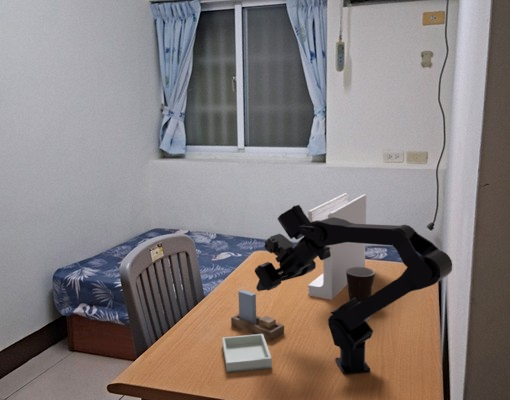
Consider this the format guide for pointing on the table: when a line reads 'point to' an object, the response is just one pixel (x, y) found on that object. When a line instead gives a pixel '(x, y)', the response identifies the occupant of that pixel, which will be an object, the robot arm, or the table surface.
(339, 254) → the white piece
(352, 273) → the coffee mug
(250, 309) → the pale blue tall block
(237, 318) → the rack
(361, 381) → the table surface
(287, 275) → the robot arm
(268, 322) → the offcut
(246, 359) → the tray
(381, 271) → the table surface
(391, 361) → the table surface
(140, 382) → the table surface
